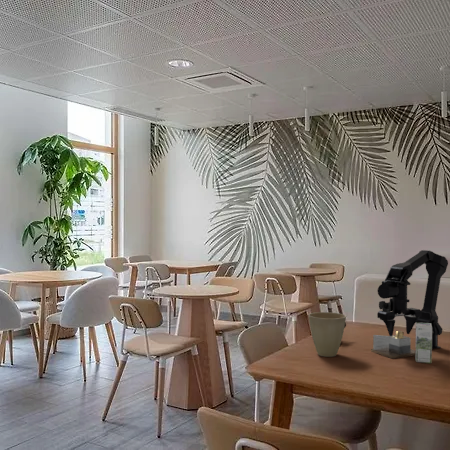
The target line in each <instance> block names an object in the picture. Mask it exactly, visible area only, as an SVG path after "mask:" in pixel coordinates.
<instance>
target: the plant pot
mask: <svg viewBox="0 0 450 450" xmlns="http://www.w3.org/2000/svg"><path fill="white" fill-rule="evenodd" d="M346 319H347V315H345V314H344V313H338V312H327V311H325V312H321V311H318V312H311V313H308V322H309V323H308V324H309V329H310V333H311V337H312V341H313V344H314V348H315V350H316V351H315V352H316V353H317V355H318V356H321V357H326V358H327V357H329V358H333V357H336V356H337V354H338V351H339V349H340V346H341V344H342V340H343V336H344V330H345V328H346V327H345V322H346V321H347V320H346ZM344 327H345V328H344Z"/></svg>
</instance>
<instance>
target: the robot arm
mask: <svg viewBox="0 0 450 450" xmlns="http://www.w3.org/2000/svg"><path fill="white" fill-rule="evenodd" d="M422 265H425V270H426V272H427V275H428V277H427V281H426V289H425V294H424V300H423V307H422V309H419V308H416V307H415V308H414V307H408V303H410V299H409V298H408V286H411V282H410V281H408V280H409V279H410V278H411V277H412V276H413V272H415V271H416V269H418V268H420V267H421V266H422ZM448 265H449V261H448V259H447V258H446V256H443V255H440V254H437V253H435V252H433V251H432V250H428V249H427V250H426V249H423V250H419V252H418V253H417V254H415V255H413V256H412V257H411V258H409V259H407V260H406V261H405V262H399V263H396V264H393V265H392V266H391V267H390V269H389V270H388V273H387V275H386V277H385V280H382V281H381V284H380V285H379V286H378V288H377V295H378V296H379V297H380V298H381V299H384V300H382V301H379V302H378V307H379V311H377V316H376V317H377V318H378V319H380V321H383V323H384V325H385V327H386V330H387V331H388V336H394V331H395V323H396V319H395V318H396V317H404V319H405V330H406V334H407V335H410V334H411V332H412V330H413V328H414V326H415V325H416V323H431V325H432V350H435V349H436V350H437V349H441V346H440V345H439V344H438V343H439V340H438V339H439V336H441V335H442V333H443V327H442V326H441V325H440V323H439V316H438V314H437V311H436V309H437V302H438V295H439V291H440V286H441V285H440V284H441V279H442V278H441V277H442V276H444V274H445V273H446V272H447V269H448ZM385 299H389V301H388V302H386V301H385Z"/></svg>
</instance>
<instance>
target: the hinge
mask: <svg viewBox="0 0 450 450" xmlns="http://www.w3.org/2000/svg"><path fill="white" fill-rule="evenodd" d="M372 341H373V344H372V345H373V346H372V347H373V348H372V349H371V350H370V351H371V353H375V354H377V355H381V356H383V357H386V358H389V359H392V360H393V359H398V358H399V359H400V358H406V357H413V356H414V357H415V352H416V349H412V347H411V343H412V341H411V337H410V336H405V335H403V338H400V339H399V338H396V334H395V335H394V334H393V335H392V336H390V335H379V334H378V335H377V334H373V340H372Z"/></svg>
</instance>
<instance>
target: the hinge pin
mask: <svg viewBox="0 0 450 450" xmlns="http://www.w3.org/2000/svg"><path fill="white" fill-rule="evenodd" d="M404 334H405V333H404V331H401V330H397V331H395V335H396V338H399V339H400V338H403V336H405V335H404Z"/></svg>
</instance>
